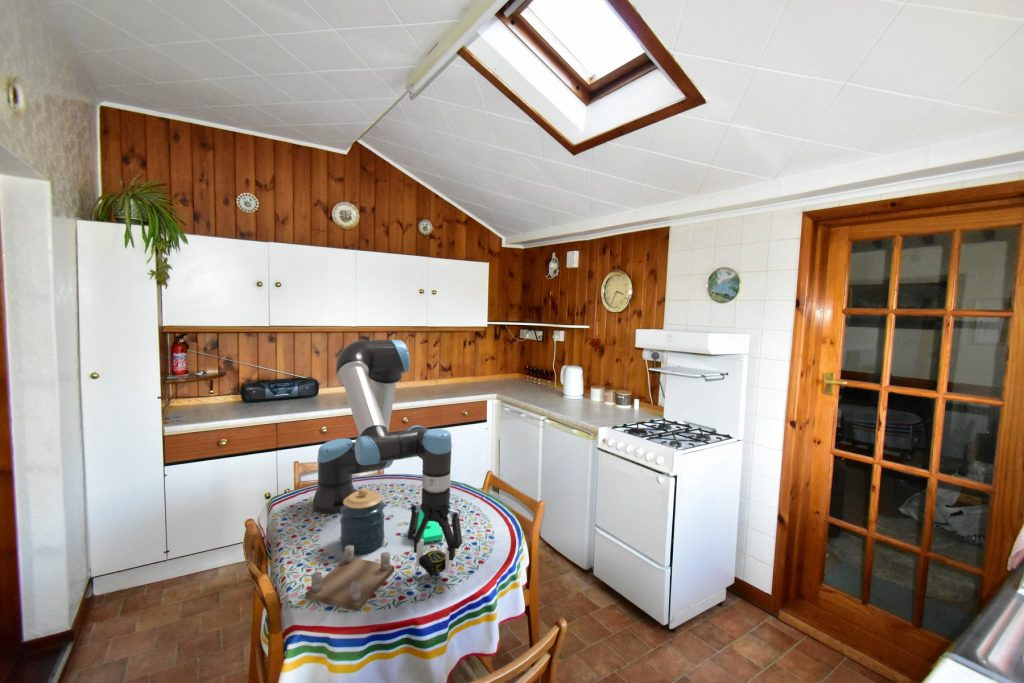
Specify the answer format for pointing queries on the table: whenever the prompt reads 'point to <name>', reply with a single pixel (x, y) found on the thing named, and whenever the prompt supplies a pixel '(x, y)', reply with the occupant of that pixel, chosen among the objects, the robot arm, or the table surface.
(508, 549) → the table surface
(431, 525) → the camera mount
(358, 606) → the pin board
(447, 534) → the robot arm
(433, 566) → the tape measure
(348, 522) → the canister
